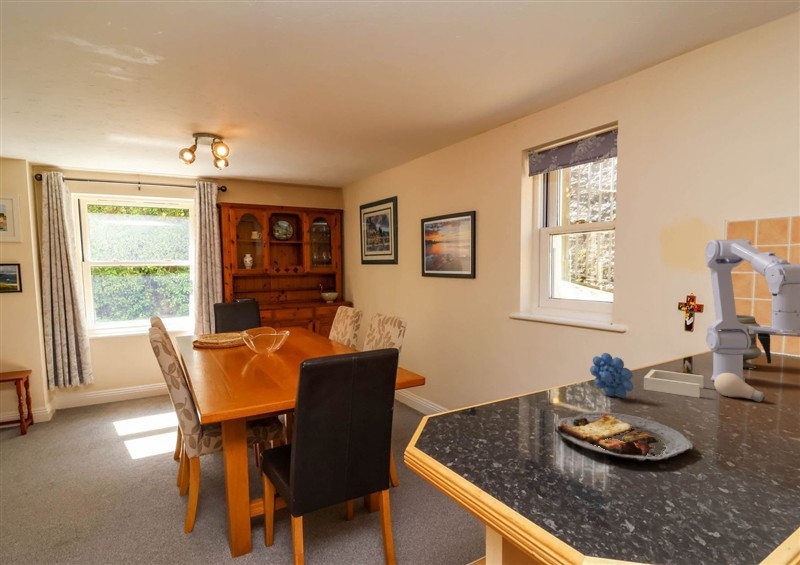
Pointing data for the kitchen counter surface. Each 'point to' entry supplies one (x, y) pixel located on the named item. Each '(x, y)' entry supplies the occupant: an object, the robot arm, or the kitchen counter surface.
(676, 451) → the food plate
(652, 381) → the socket cradle
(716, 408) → the kitchen counter surface
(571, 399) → the kitchen counter surface
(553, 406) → the kitchen counter surface
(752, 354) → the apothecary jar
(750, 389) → the light bulb
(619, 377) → the grapes
